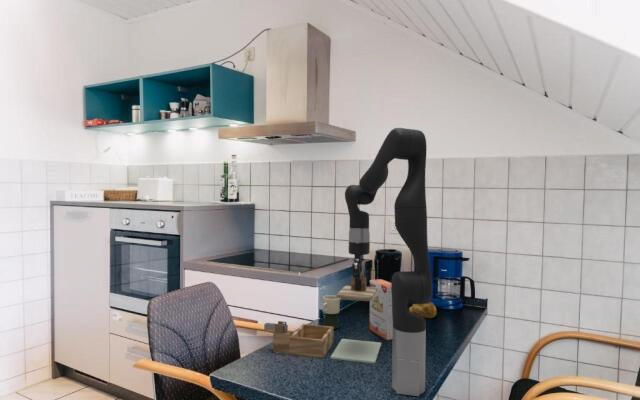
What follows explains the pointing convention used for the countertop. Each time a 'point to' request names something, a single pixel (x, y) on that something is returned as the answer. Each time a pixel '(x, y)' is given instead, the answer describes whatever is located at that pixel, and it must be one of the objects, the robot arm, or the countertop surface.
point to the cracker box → (381, 309)
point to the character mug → (331, 310)
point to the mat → (357, 351)
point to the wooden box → (303, 340)
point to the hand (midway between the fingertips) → (358, 288)
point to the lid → (357, 291)
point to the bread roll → (424, 310)
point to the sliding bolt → (272, 326)
